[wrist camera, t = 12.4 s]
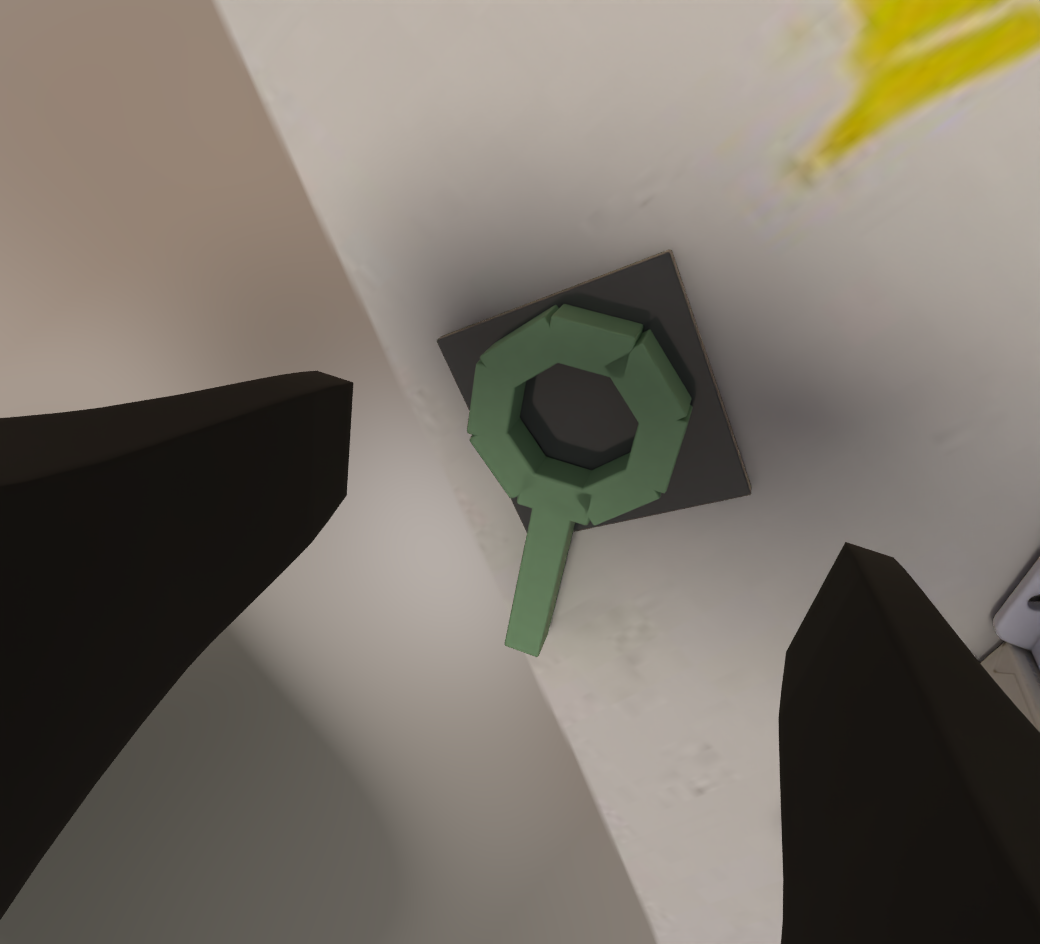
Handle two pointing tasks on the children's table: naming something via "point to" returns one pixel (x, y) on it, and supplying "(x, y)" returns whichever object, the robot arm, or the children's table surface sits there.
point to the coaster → (597, 402)
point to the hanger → (559, 485)
